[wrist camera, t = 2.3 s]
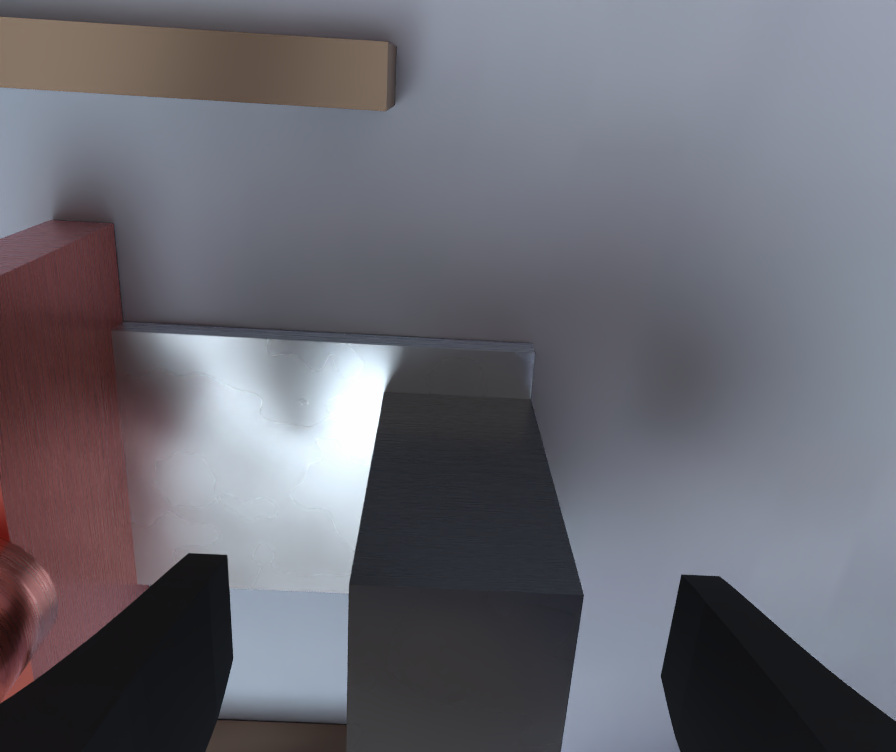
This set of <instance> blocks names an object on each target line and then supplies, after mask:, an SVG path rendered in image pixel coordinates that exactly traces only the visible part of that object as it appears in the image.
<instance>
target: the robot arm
mask: <svg viewBox="0 0 896 752" xmlns="http://www.w3.org/2000/svg"><path fill="white" fill-rule="evenodd" d="M232 661H233V647H232V629H231V610H230V592H229V573H228V555H221V554H198V553H188V554H187V555H186V556H185V557H183V558H182V559H181V560H180V561H179V562H178V563H176V564H175V565H174V566H173V567H172V568H170V569H169V570H168V571H167V572H166V573H165V574H164V575H163V576H161V577H160V578H159V579H158V580H157V581H156V582H155V583H154V584H152V585H151V586H150V587H149V588H148V589H147V590H146V591H145V592H143V593H142V594H141V595H140V596H139V597H138V598H137V599H135V600H134V601H133V602H132V603H131V604H130V605H129V606H127V607H126V608H125V609H124V610H123V611H122V612H120V613H119V614H118V615H117V616H116V617H114V618H113V619H112V620H111V621H110V622H109V623H107V624H106V625H105V626H104V627H103V628H101V629H100V630H99V631H98V632H97V633H96V634H94V635H93V636H92V637H91V638H89V639H88V640H87V641H86V642H84V643H83V644H82V645H80V646H79V647H78V648H76V649H75V650H74V651H73V652H71V653H70V654H69V655H67V656H66V657H65V658H64V659H62V660H61V661H60V662H58V663H57V664H56V665H54V666H53V667H52V668H51V669H49V670H48V671H47V672H45V673H44V674H43V675H41V676H40V677H38V678H37V679H36V680H34V681H33V682H31V683H30V684H28V685H27V686H26V687H24V688H23V689H21V690H20V691H18V692H17V693H15V694H14V695H12V696H11V697H9V698H8V699H6V700H5V701H3V702H2V703H0V752H206V749H207V746H208V744H209V741H210V739H211V736H212V733H213V731H214V728H215V725H216V723H217V720H218V716H219V713H220V709H221V705H222V701H223V698H224V694H225V690H226V686H227V682H228V678H229V674H230V670H231V666H232ZM661 679H662V683H663V688H664V692H665V697H666V701H667V706H668V710H669V714H670V718H671V722H672V726H673V730H674V734H675V738H676V740H677V743H678V746H679V749H680V752H896V721H894V720H893V719H892V718H890V717H889V716H888V715H886V714H885V713H883V712H882V711H881V710H879V709H878V708H877V707H876V706H874V705H873V704H872V703H870V702H869V701H868V700H866V699H865V698H864V697H863V696H861V695H860V694H859V693H857V692H856V691H855V690H853V689H852V688H851V687H850V686H848V685H847V684H846V683H844V682H843V681H842V680H841V679H839V678H838V677H837V676H836V675H834V674H833V673H832V672H831V671H830V670H828V669H827V668H826V667H825V666H823V665H822V664H821V663H820V662H819V661H817V660H816V659H815V658H814V657H813V656H811V655H810V654H809V653H808V652H807V651H806V650H804V649H803V648H802V647H801V646H800V645H798V644H797V643H796V642H795V641H794V640H793V639H792V638H790V637H789V636H788V635H787V634H786V633H785V632H783V631H782V630H781V629H780V628H779V627H778V626H777V625H775V624H774V623H773V622H772V621H771V620H770V619H769V618H768V617H766V616H765V615H764V614H763V613H762V612H761V611H760V610H758V609H757V608H756V607H755V606H754V605H753V604H752V603H750V602H749V601H748V600H747V599H746V598H745V597H744V596H742V595H741V594H740V593H739V592H738V591H737V590H736V589H734V588H733V587H732V586H731V585H730V584H728V583H727V582H726V581H725V580H723V579H722V578H721V577H719V576H700V575H681V580H680V584H679V589H678V594H677V599H676V604H675V609H674V614H673V619H672V624H671V629H670V634H669V639H668V643H667V648H666V653H665V658H664V663H663V668H662V673H661Z"/></svg>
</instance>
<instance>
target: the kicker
mask: <svg viewBox="0 0 896 752" xmlns="http://www.w3.org/2000/svg"><path fill="white" fill-rule="evenodd" d="M534 362H535V351H534V348H533V345H532V344H531V343H512V342H493V341H475V340H456V339H438V338H419V337H400V336H382V335H363V334H344V333H326V332H307V331H289V330H270V329H251V328H233V327H214V326H195V325H177V324H158V323H140V322H123V318H122V308H121V297H120V287H119V277H118V267H117V256H116V246H115V236H114V225H113V224H112V223H95V222H77V221H60V220H50V221H47V222H44V223H42V224H39V225H36V226H34V227H31V228H28V229H26V230H23V231H20V232H18V233H15V234H12V235H10V236H7V237H4V238H2V239H0V703H2V702H3V701H5V700H6V699H8V698H9V697H11V696H12V695H14V694H15V693H17V692H18V691H20V690H21V689H23V688H24V687H26V686H27V685H28V684H30V683H31V682H33V681H34V680H36V679H37V678H38V677H40V676H41V675H43V674H44V673H45V672H47V671H48V670H49V669H51V668H52V667H53V666H54V665H56V664H57V663H58V662H60V661H61V660H62V659H64V658H65V657H66V656H67V655H69V654H70V653H71V652H73V651H74V650H75V649H76V648H78V647H79V646H80V645H82V644H83V643H84V642H86V641H87V640H88V639H89V638H91V637H92V636H93V635H94V634H96V633H97V632H98V631H99V630H100V629H101V628H103V627H104V626H105V625H106V624H107V623H109V622H110V621H111V620H112V619H113V618H114V617H116V616H117V615H118V614H119V613H120V612H122V611H123V610H124V609H125V608H126V607H127V606H129V605H130V604H131V603H132V602H133V601H134V600H135V599H137V598H138V597H139V596H140V595H141V594H142V593H143V592H145V591H146V590H147V589H148V588H149V586H148V585H152V584H154V583H155V582H156V581H157V580H158V579H159V578H160V577H161V576H163V575H164V574H165V573H166V572H167V571H168V570H169V569H170V568H172V567H173V566H174V565H175V564H176V563H178V562H179V561H180V560H181V559H182V558H183V557H185V556H186V555H187V554H188V553H198V554H221V555H228V573H229V588H233V589H255V590H278V591H300V592H323V593H346V594H349V612H348V678H347V743H346V752H561V746H562V739H563V732H564V725H565V719H566V712H567V705H568V698H569V691H570V685H571V678H572V671H573V664H574V658H575V651H576V644H577V637H578V631H579V624H580V617H581V610H582V604H583V597H584V594H583V590H582V587H581V583H580V579H579V576H578V572H577V568H576V565H575V561H574V557H573V554H572V550H571V546H570V543H569V539H568V535H567V532H566V528H565V524H564V520H563V517H562V513H561V509H560V506H559V502H558V498H557V495H556V491H555V487H554V484H553V480H552V476H551V473H550V469H549V465H548V462H547V458H546V454H545V451H544V447H543V443H542V440H541V436H540V432H539V429H538V425H537V421H536V418H535V414H534V410H533V407H532V403H531V390H532V381H533V371H534Z"/></svg>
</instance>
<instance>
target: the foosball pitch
mask: <svg viewBox="0 0 896 752" xmlns="http://www.w3.org/2000/svg"><path fill="white" fill-rule="evenodd" d="M396 53H397V47H396V46H395V45H393V44H391V43H389V42H385V41H369V40H354V39H338V38H323V37H307V36H292V35H276V34H261V33H245V32H230V31H214V30H199V29H183V28H167V27H152V26H136V25H121V24H105V23H90V22H74V21H59V20H43V19H28V18H12V17H0V87H4V88H20V89H36V90H52V91H68V92H85V93H101V94H117V95H133V96H149V97H165V98H181V99H198V100H214V101H230V102H246V103H262V104H278V105H295V106H311V107H327V108H343V109H359V110H375V111H387V110H389V109H390V108H392V107H393V106H394V105H395V84H396ZM346 743H347V725H333V724H308V723H282V722H257V721H232V720H217V723H216V725H215V728H214V731H213V733H212V736H211V739H210V741H209V744H208V746H207V749H206V752H346Z"/></svg>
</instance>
